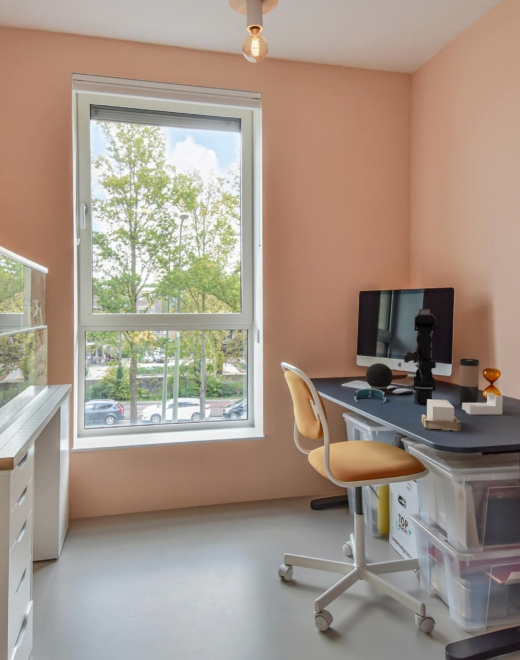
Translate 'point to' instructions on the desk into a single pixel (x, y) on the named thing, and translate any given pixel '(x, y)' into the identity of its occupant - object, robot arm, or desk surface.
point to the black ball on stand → (379, 377)
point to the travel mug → (469, 380)
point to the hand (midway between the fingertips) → (423, 382)
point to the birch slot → (442, 424)
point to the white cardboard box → (439, 410)
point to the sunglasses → (365, 392)
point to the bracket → (485, 405)
